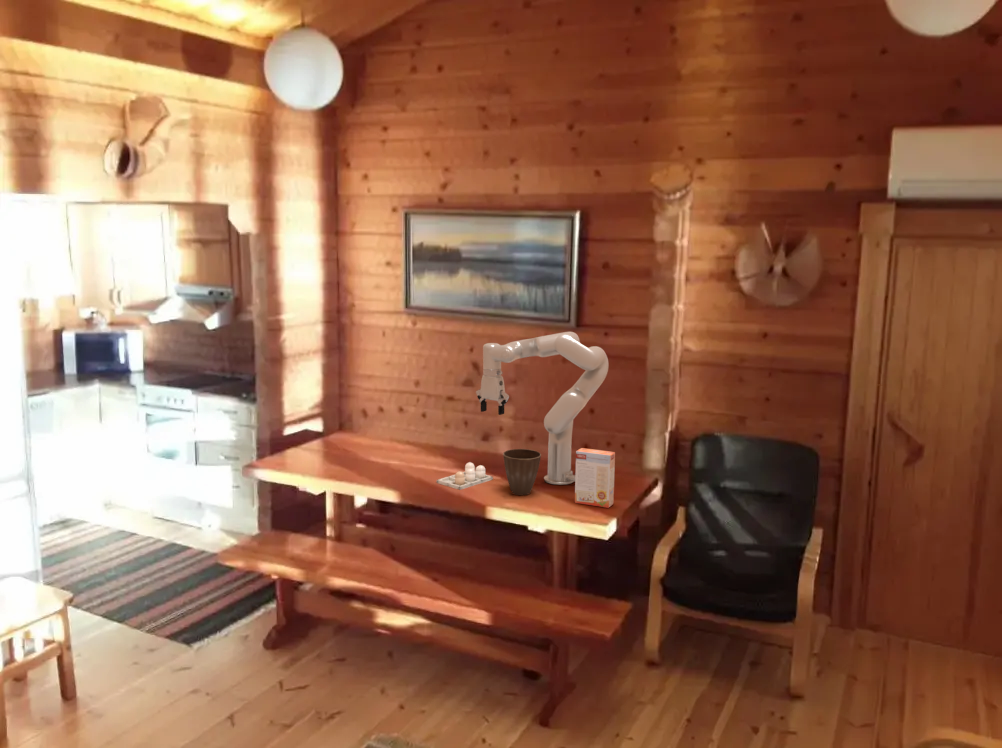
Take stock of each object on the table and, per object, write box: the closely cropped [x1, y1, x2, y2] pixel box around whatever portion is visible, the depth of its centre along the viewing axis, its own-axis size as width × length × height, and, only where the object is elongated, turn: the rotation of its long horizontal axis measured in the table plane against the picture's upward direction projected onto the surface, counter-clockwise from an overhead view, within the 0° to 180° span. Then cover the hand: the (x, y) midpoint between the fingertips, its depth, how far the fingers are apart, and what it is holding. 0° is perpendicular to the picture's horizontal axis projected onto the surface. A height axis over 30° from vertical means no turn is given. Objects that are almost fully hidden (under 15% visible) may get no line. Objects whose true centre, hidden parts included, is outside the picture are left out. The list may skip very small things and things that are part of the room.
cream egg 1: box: [464, 461, 476, 473], centre depth 364 cm, size 4×4×6 cm
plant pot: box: [502, 448, 542, 496], centre depth 346 cm, size 15×15×16 cm
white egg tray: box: [436, 471, 494, 491], centre depth 358 cm, size 13×19×2 cm
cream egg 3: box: [475, 464, 486, 479], centre depth 360 cm, size 4×4×6 cm
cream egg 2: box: [465, 468, 476, 483], centre depth 355 cm, size 4×4×6 cm
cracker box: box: [574, 447, 616, 509], centre depth 333 cm, size 14×6×21 cm, turn 63°
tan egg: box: [454, 471, 465, 486], centre depth 351 cm, size 4×4×6 cm
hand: (492, 412), depth 367 cm, fingers open, 9 cm apart
